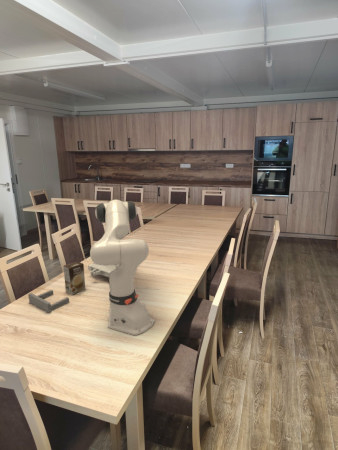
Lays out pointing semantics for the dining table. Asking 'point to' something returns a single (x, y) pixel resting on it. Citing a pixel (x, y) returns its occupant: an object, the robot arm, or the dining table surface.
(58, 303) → the grey u-shaped bracket
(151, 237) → the dining table surface
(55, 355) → the dining table surface
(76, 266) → the coffee box
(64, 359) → the dining table surface
